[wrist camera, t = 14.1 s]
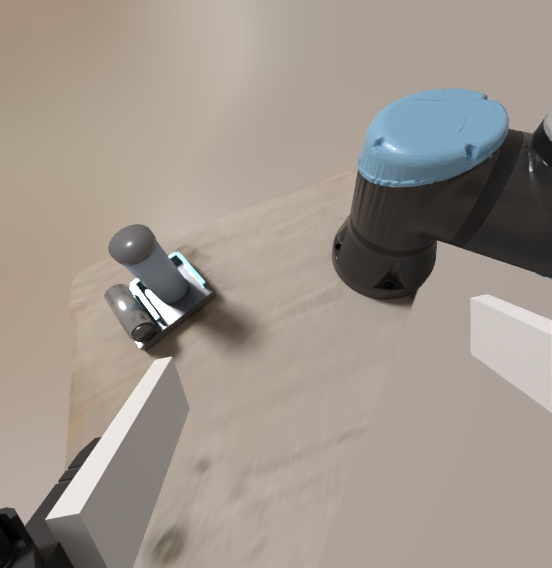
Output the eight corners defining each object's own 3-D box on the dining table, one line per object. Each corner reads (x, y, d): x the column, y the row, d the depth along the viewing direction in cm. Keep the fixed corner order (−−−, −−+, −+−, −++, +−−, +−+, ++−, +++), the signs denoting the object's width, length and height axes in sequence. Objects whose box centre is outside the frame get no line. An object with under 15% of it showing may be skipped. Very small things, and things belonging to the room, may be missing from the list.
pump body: (177, 267, 47) (139, 217, 37) (195, 288, 45) (160, 240, 34) (149, 288, 46) (101, 242, 35) (166, 311, 43) (121, 268, 33)
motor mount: (182, 257, 50) (169, 240, 45) (215, 295, 46) (205, 280, 41) (115, 306, 47) (94, 291, 42) (144, 351, 43) (125, 340, 38)
